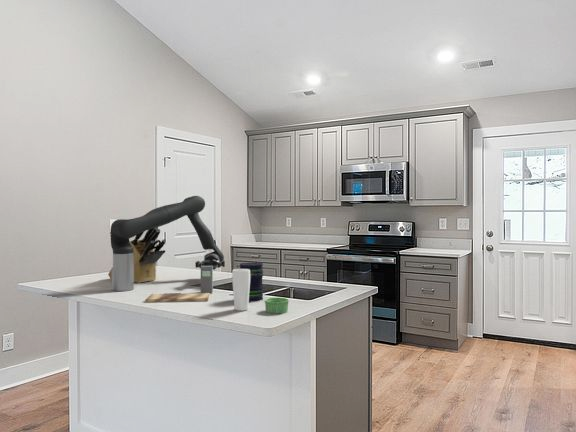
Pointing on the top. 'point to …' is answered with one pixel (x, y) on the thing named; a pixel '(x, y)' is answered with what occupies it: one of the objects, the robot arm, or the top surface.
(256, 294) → the storage jar
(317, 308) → the top surface
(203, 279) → the tall grey rectangular prism
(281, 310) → the ramekin
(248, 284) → the drinking glass
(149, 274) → the knife block
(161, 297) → the board
